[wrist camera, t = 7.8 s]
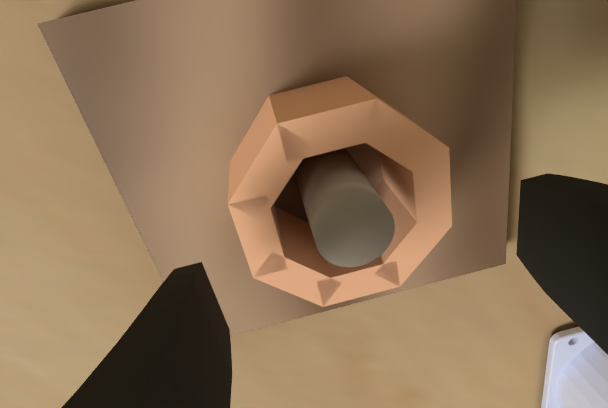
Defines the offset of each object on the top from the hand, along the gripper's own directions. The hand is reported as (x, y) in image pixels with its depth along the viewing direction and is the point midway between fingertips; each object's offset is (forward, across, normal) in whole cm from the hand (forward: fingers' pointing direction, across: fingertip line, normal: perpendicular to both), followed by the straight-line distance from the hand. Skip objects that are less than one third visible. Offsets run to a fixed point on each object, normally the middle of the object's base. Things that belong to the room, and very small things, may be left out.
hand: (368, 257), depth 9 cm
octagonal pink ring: (+5, 0, 0) cm, 5 cm away
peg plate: (+6, 0, 0) cm, 6 cm away
